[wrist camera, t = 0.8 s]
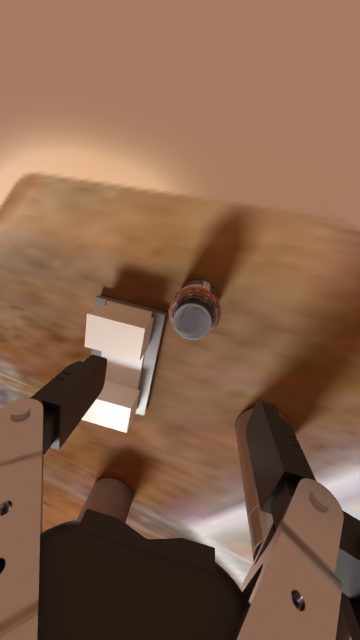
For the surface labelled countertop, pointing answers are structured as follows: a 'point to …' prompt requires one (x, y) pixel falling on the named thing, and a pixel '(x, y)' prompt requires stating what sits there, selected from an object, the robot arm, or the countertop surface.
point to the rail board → (123, 358)
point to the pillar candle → (109, 499)
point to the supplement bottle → (195, 310)
